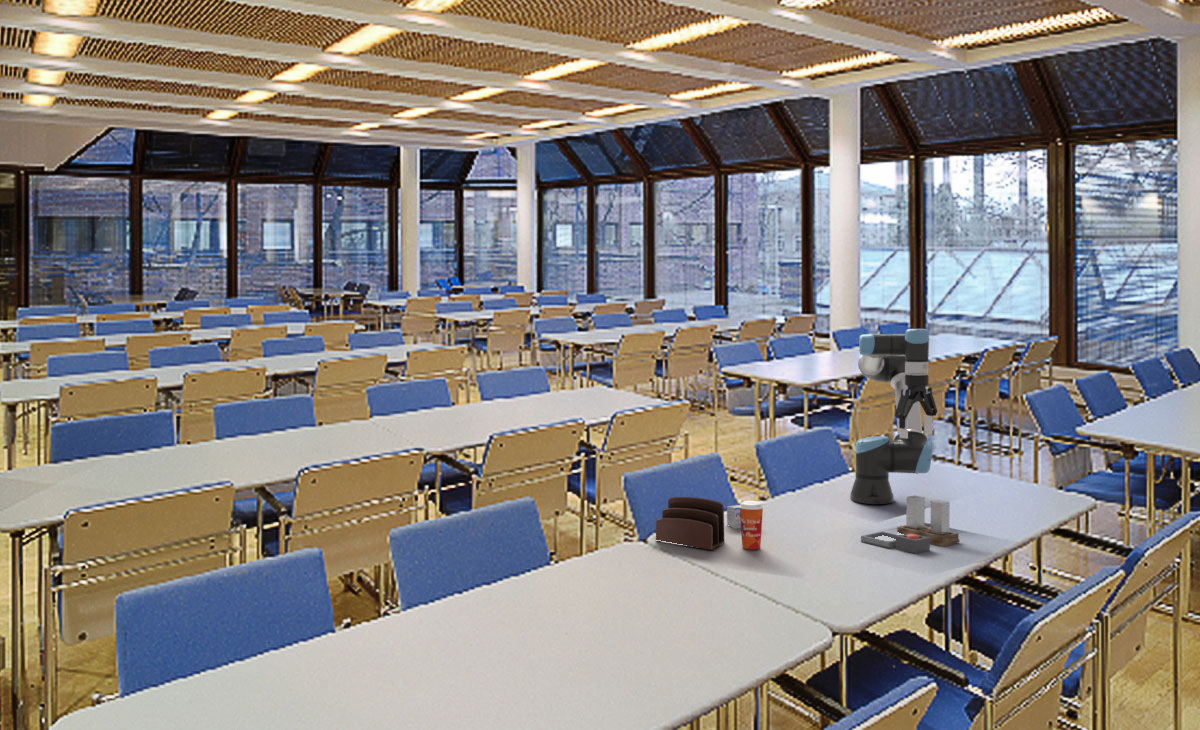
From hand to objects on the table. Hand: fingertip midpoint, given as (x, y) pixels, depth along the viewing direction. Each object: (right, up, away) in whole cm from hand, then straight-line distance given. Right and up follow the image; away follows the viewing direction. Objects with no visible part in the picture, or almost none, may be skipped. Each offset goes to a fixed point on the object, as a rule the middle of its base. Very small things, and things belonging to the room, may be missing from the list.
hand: (916, 436), depth 294 cm
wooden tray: (-2, -32, -16) cm, 36 cm away
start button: (-12, -30, -29) cm, 43 cm away
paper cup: (-61, -33, -25) cm, 73 cm away
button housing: (-12, -33, -29) cm, 45 cm away
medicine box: (-61, -32, -3) cm, 69 cm away
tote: (-17, -32, -20) cm, 42 cm away
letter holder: (-79, -33, -18) cm, 88 cm away
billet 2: (0, -31, -20) cm, 37 cm away
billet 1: (-5, -31, -13) cm, 34 cm away
